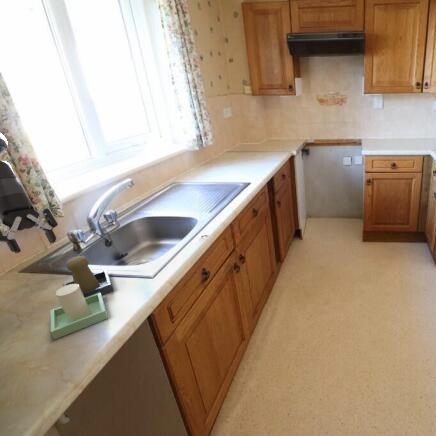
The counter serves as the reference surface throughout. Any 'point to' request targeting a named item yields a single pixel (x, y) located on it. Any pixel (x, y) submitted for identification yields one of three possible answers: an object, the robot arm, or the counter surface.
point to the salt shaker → (73, 302)
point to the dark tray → (103, 281)
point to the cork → (82, 273)
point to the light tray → (64, 327)
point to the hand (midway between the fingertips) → (36, 247)
